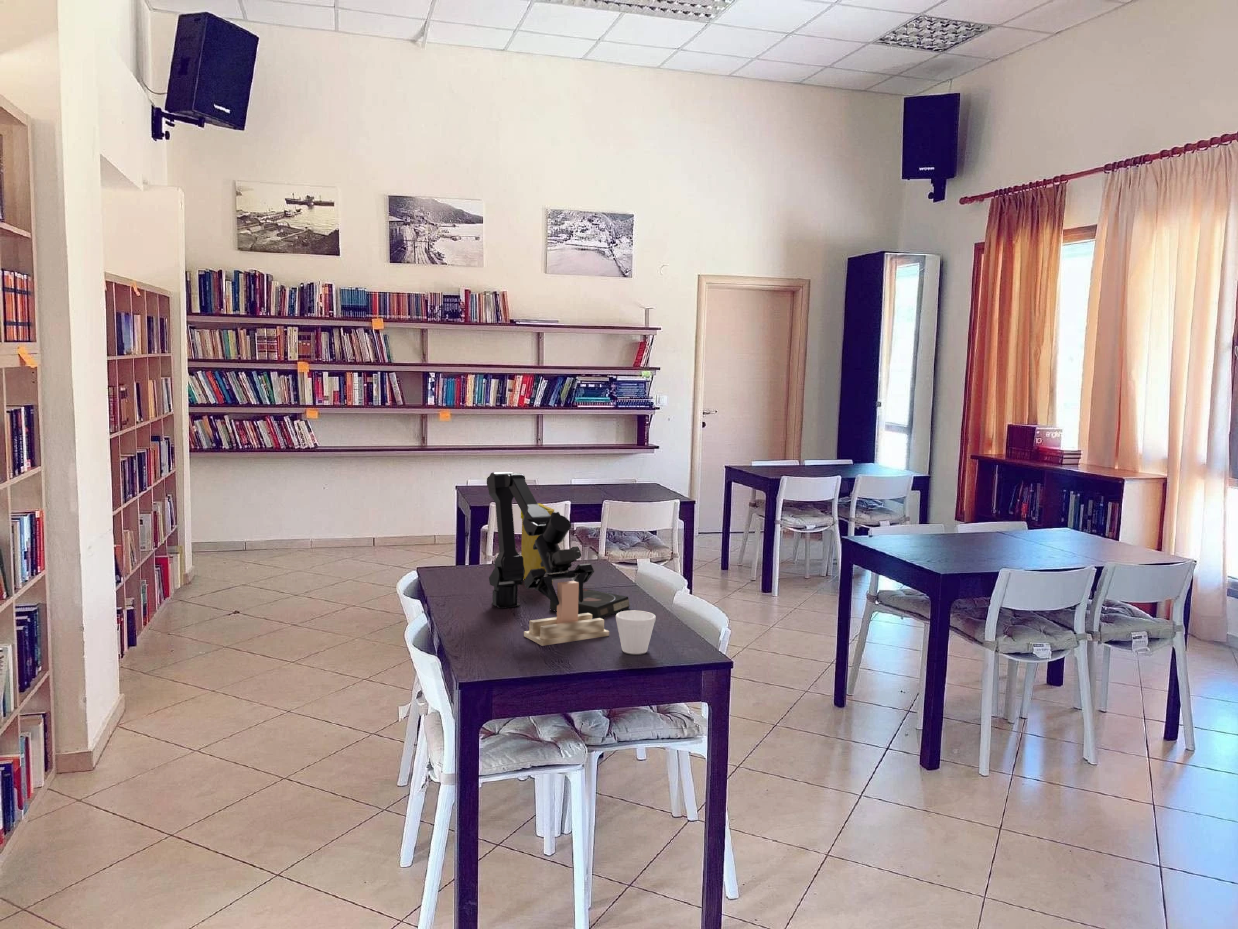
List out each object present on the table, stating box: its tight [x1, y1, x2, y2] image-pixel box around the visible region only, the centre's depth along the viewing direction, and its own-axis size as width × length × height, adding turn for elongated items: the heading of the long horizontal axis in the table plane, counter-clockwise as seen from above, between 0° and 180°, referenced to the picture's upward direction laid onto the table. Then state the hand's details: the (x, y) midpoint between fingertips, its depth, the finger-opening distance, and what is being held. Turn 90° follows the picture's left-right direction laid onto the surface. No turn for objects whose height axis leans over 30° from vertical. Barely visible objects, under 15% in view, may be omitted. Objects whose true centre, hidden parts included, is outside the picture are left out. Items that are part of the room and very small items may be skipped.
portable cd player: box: [549, 588, 631, 619], centre depth 272 cm, size 16×17×4 cm
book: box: [520, 502, 555, 586], centre depth 304 cm, size 17×7×25 cm, turn 25°
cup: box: [615, 609, 657, 656], centre depth 231 cm, size 10×10×9 cm
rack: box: [523, 613, 610, 647], centre depth 244 cm, size 20×10×4 cm, turn 123°
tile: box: [556, 580, 579, 624], centre depth 243 cm, size 2×5×13 cm, turn 124°
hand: (570, 603), depth 242 cm, fingers open, 7 cm apart
